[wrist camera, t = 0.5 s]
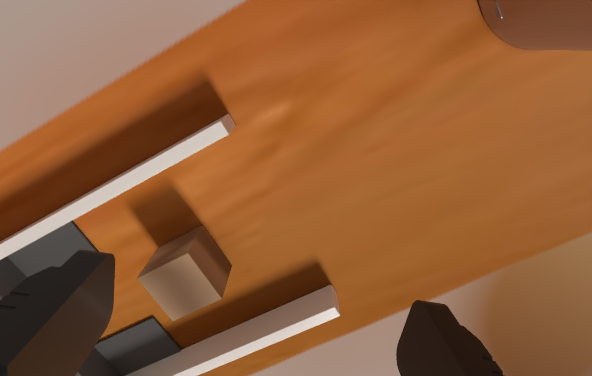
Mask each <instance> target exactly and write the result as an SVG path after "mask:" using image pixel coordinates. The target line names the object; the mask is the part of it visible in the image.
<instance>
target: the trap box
mask: <svg viewBox="0 0 592 376" xmlns="http://www.w3.org/2000/svg"><path fill="white" fill-rule="evenodd" d="M235 126H236V125H235V123H234V121H233V120H232V118H231V116H230V115H229V113H228V114H227V115H225V116H223V117H221V118H219V119H218V120H216V121H214V122H212V123H211V124H209V125H207V126H205V127H203V128H202V129H200V130H198V131H196V132H195V133H193V134H191V135H189V136H187V137H186V138H184V139H182V140H180V141H179V142H177V143H175V144H173V145H171V146H170V147H168V148H166V149H164V150H162V151H161V152H159V153H157V154H155V155H154V156H152V157H150V158H148V159H146V160H145V161H143V162H141V163H139V164H138V165H136V166H134V167H132V168H130V169H129V170H127V171H125V172H123V173H122V174H120V175H118V176H116V177H114V178H113V179H111V180H109V181H107V182H105V183H104V184H102V185H100V186H98V187H97V188H95V189H93V190H91V191H89V192H88V193H86V194H84V195H82V196H81V197H79V198H77V199H75V200H73V201H72V202H70V203H68V204H66V205H64V206H63V207H61V208H59V209H57V210H56V211H54V212H52V213H50V214H48V215H47V216H45V217H43V218H41V219H40V220H38V221H36V222H34V223H32V224H31V225H29V226H27V227H25V228H24V229H22V230H20V231H18V232H16V233H15V234H13V235H11V236H9V237H7V238H6V239H4V240H2V241H0V300H1V299H2V298H3V297H5V296H6V295H9V294H10V292H11V291H12V290H13V289H14V288H15V287H16V286H18V285H19V284H20V283H21V282H22V281H24V280H25V279H26V278H27V277H29V276H31V275H33V274H35V273H37V272H40V271H42V270H44V269H46V268H48V267H50V266H54V267H61V266H62V265H63V264H64V263H65V262H66V261H67V260H68V259H69V258H70V257H71V256H73V255H74V254H75V253H76V252H77V251H78V250H81V249H82V250H89V251H96V252H98V250H97V249H96V248H95V247H94V246H93V245H92V243H91V242H90V241H89V240H88V239H87V237H86V236H85V235H84V234H83V233H82V232H81V230H80V229H79V228H78V227H77V226H76V225H75V223H74V222H73V221H72V220H74V219H76V218H77V217H79V216H81V215H83V214H85V213H87V212H88V211H90V210H92V209H94V208H96V207H97V206H99V205H101V204H103V203H105V202H107V201H108V200H110V199H112V198H114V197H116V196H117V195H119V194H121V193H123V192H125V191H127V190H128V189H130V188H132V187H134V186H136V185H138V184H139V183H141V182H143V181H145V180H147V179H148V178H150V177H152V176H154V175H156V174H158V173H159V172H161V171H163V170H165V169H167V168H168V167H170V166H172V165H174V164H176V163H178V162H179V161H181V160H183V159H185V158H187V157H188V156H190V155H192V154H194V153H196V152H198V151H199V150H201V149H203V148H205V147H207V146H209V145H210V144H212V143H214V142H216V141H218V140H219V139H221V138H223V137H225V136H227V135H229V133H230V132H231V131H232V130H233V128H234V127H235ZM338 316H340V313H339V307H338V300H337V294H336V291H335V290H334V288H333V286H332V285H331V284H330V285H328V286H326V287H324V288H321V289H319V290H317V291H314V292H312V293H310V294H308V295H305V296H303V297H301V298H298V299H296V300H294V301H292V302H289V303H287V304H285V305H282V306H280V307H278V308H276V309H273V310H271V311H269V312H266V313H264V314H262V315H260V316H257V317H255V318H253V319H250V320H248V321H246V322H244V323H241V324H239V325H237V326H234V327H232V328H230V329H228V330H225V331H223V332H221V333H218V334H216V335H214V336H212V337H209V338H207V339H205V340H202V341H200V342H198V343H196V344H193V345H191V346H189V347H186V348H184V349H181V348H180V347H179V346H178V344H177V343H176V342H175V341H174V340H173V339H172V337H171V336H170V335H169V334H168V333H167V332H166V330H165V329H164V328H163V327H162V326H161V324H160V323H159V322H158V321H157V320H156V319H155V317H152V318H149V319H147V320H145V321H143V322H141V323H139V324H136V325H134V326H132V327H130V328H128V329H126V330H124V331H121V332H119V333H117V334H115V335H113V336H111V337H109V338H106V339H104V340H102V341H100V342H98V343H96V345H95V346H94V348H93V349H92V351H91V352H90V354H89V355H88V357H87V358H86V360H85V361H84V363H83V365H82V366H81V368H80V369H79V371H78V372H77V374H76V375H75V376H197V375H200V374H202V373H204V372H207V371H209V370H212V369H214V368H216V367H219V366H221V365H224V364H226V363H228V362H231V361H233V360H236V359H238V358H240V357H243V356H245V355H248V354H250V353H252V352H255V351H257V350H259V349H262V348H264V347H267V346H269V345H271V344H274V343H276V342H279V341H281V340H283V339H286V338H288V337H291V336H293V335H295V334H298V333H300V332H303V331H305V330H307V329H310V328H312V327H314V326H317V325H319V324H322V323H324V322H326V321H329V320H331V319H334V318H336V317H338Z"/></svg>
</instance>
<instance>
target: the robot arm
mask: <svg viewBox="0 0 592 376" xmlns="http://www.w3.org/2000/svg"><path fill="white" fill-rule="evenodd" d="M479 4H480V7H481V11H482V14H483V17H484V19H485V21H486V22H487V24H488V26H489V27H490V29H491V30H492V31H493V32H494V33H495V34H496V35H497V36H498V37H499V38H500V39H501V40H503V41H505V42H506V43H508V44H510V45H512V46H515V47H518V48H522V49H529V50H572V51H592V0H479ZM114 278H115V257H114V255H113V254H109V253H103V252H96V251H89V250H82V249H81V250H78V251H77V252H76V253H75V254H74V255H73V256H71V257H70V258H69V259H68V260H67V261H66V262H65V263H64V264H63V265H62V266H61V267H54V266H50V267H48V268H46V269H44V270H42V271H40V272H37V273H35V274H33V275H31V276H29V277H27V278H26V279H25V280H24V281H22V282H21V283H20V284H19V285H18V286H16V287H15V288H14V289H13V290H12V291H11V292H10V294H9V295H6V296H5V297H3V298H2V299H1V300H0V376H75V375H76V374H77V372H78V371H79V369H80V368H81V366H82V365H83V363H84V361H85V360H86V358H87V357H88V355H89V354H90V352H91V351H92V349H93V348H94V346H95V345H96V343H97V342H98V340H99V339H100V337H101V336H102V334H103V333H104V331H105V330H106V328H107V326H108V323H109V321H110V318H111V315H112V311H113V303H114ZM396 356H397V366H398V369H399V372H400V375H401V376H503V373H502V370H501V369H500V368H499V366H498V365H497V363H496V362H495V361H493V360H492V356H491V355H490V354H489V352H488V351H487V349H486V348H485V347H484V345H483V344H482V342H481V341H480V340H479V339H478V338H477V337H475V336H474V335H473V334H472V333H471V332H470V331H468V330H467V329H466V328H465V327H464V326H461V325H460V324H459V323H458V321H457V320H456V318H455V317H454V315H453V314H452V312H451V311H450V310H449V308H448V307H447V306H446V305H445V304H440V303H433V302H427V301H420V300H417V301H415V302H414V303H413V305H412V307H411V309H410V312H409V315H408V318H407V320H406V323H405V326H404V329H403V331H402V334H401V337H400V340H399V343H398V346H397V355H396Z"/></svg>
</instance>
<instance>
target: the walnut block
mask: <svg viewBox="0 0 592 376" xmlns="http://www.w3.org/2000/svg"><path fill="white" fill-rule="evenodd" d="M231 267H232V265H231V264H230V262H229V261H228V259H227V258H226V257H225V255H224V254H223V252H222V251H221V249H220V248H219V247H218V245H217V244H216V242H215V241H214V240H213V238H212V237H211V235H210V234H209V232H208V231H207V230H206V228H205V227H204V225H201V226H199V227H197V228H195V229H193V230H191V231H189V232H188V233H186V234H184V235H182V236H180V237H178V238H176V239H174V240H172V241H170V242H168V243H166V244H164V245H162V246H160V247H158V249H157V250H156V252H155V253H154V254H153V256H152V257H151V259H150V260H149V262H148V263H147V264H146V266H145V267H144V269H143V270H142V272H141V273H140V275H139V276H138V277H137V279H138V280H139V281H140V283H141V284H142V285H143V286H144V287H145V289H146V290H147V291H148V292H149V293H150V295H151V296H152V297H153V298H154V299H155V301H156V302H157V303H158V304H159V305H160V307H161V308H162V309H163V310H164V312H165V313H166V314H167V315H168V316H169V318H170V319H171V320H172V321H175V320H177V319H179V318H181V317H183V316H186V315H188V314H190V313H192V312H194V311H197V310H199V309H201V308H203V307H205V306H208V305H210V304H212V303H214V302H216V301H218V300H221V299H222V297H223V294H224V290H225V287H226V284H227V280H228V277H229V274H230V270H231Z"/></svg>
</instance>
